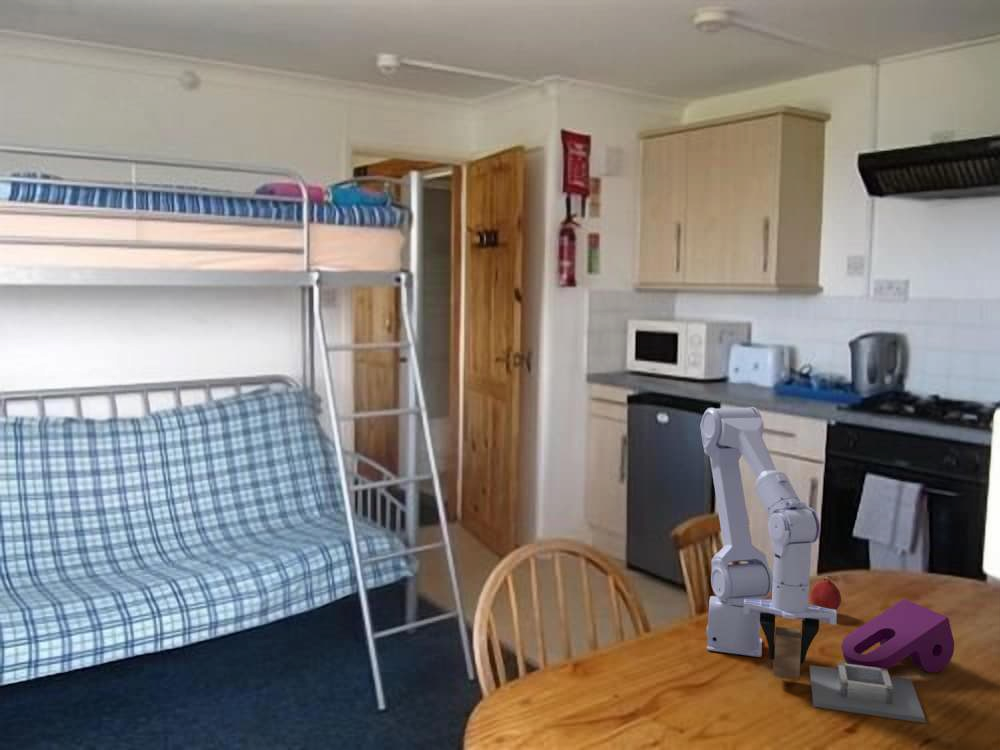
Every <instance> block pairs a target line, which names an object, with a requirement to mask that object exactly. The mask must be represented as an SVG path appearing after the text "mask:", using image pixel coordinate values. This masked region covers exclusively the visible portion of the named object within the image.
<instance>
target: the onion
mask: <svg viewBox="0 0 1000 750" xmlns="http://www.w3.org/2000/svg"><path fill="white" fill-rule="evenodd" d="M809 597H810V602H811V605H814V606H818V607H823V608H827V609H834V610H836V611H837V609H839V607H840V606H841V602H842V595H841V592H840V590H839V588H838V587H837V586H836V584H834V582H832V581H831V579H830V578H829V577H827V576H825V577H823V578H822V580H821V581H819V582H817V583H816V584H815V585H814V586H813V588H812V589H811V591H810V594H809Z"/></svg>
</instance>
